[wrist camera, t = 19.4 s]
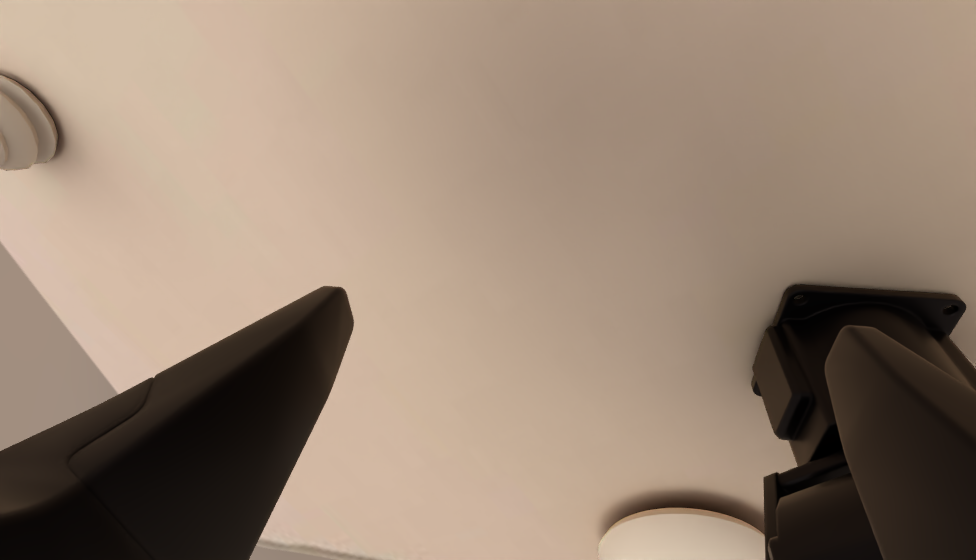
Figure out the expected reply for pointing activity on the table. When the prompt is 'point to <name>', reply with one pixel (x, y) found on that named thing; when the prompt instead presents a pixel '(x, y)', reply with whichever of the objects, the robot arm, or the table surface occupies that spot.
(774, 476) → the robot arm
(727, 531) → the flower in vase
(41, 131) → the rook chess piece
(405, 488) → the table surface
